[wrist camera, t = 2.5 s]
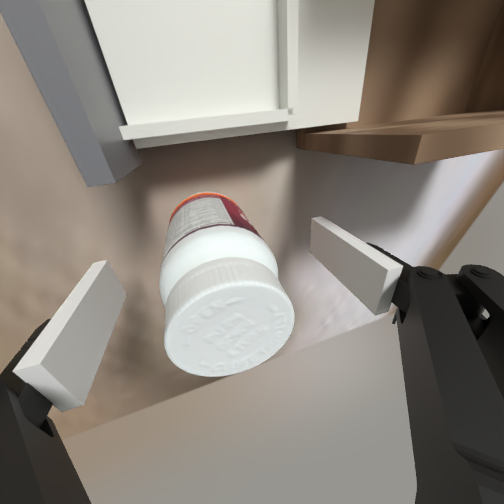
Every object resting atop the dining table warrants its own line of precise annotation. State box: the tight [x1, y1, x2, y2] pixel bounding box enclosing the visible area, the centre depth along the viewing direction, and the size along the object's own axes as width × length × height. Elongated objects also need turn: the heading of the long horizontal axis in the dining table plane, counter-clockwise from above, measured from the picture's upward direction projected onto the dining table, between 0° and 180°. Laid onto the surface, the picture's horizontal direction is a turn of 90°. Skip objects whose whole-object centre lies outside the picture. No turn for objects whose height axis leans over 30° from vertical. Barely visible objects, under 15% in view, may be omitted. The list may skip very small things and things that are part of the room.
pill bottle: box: [159, 192, 295, 377], centre depth 13 cm, size 6×6×11 cm
